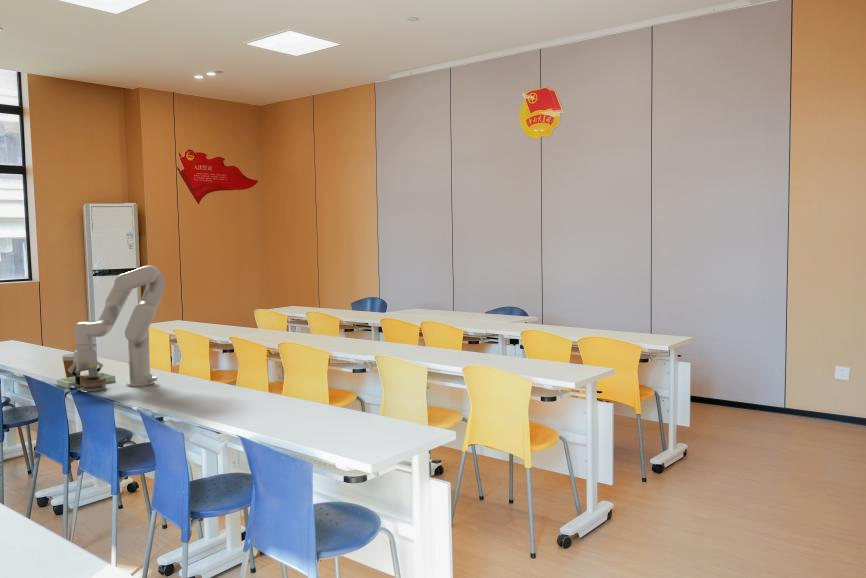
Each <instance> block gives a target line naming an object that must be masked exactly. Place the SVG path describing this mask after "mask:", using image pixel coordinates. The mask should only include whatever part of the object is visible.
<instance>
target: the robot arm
mask: <svg viewBox="0 0 866 578" xmlns="http://www.w3.org/2000/svg"><path fill="white" fill-rule="evenodd" d="M113 281H114V283H113V286H112V288H111V289H110V291H109V293H108V295H107V297H106V300H105V305H104V308H103V310H102V312H101V315H100V317H99V318H98V320H97V321H95V322H90V321H79V322H77V323H75V325H74V332H75V348H76V350H74V352H73V354H74V358H73V365H72V366H71V367H70V368H69V369H68V371H69V372H70V373H71V374H73V375H74V376H75V382H76V384H78V385H80V377H79V374H80V375H81V372H84V371H88V365H93V364H95V365H96V367H97V374H98V373H100V371H101V370H102V368H103V367H104V364H102V363H101V362H99V361H98V357H97V351H96V349H95V347H97V343H94V337H95V338H103V337H105V336H106V335H107V334H109V333H110V332H111V330H112V329H113V328H114V325H115V323H116V322H117V320H118V318H119V316H120V313H122V312H121V311H123V308H124V306H125V304H126V303H127V300H128V298H129V296H130V295H131V293H132V292H133V289H136V288H140V287H142V286H145V285H146V287H145V290H144V292H143V294H142V297H141V298H140V301H139V303H138V304H136V305H135V306H134V309H133V310H132V313H131V315H130V318H129V321H128V322H127V325H126V327H125V329H124V337H125V339H126V340H127V342H128V344H127V347H128V348H127V350H128V351H127V352H128V370H129V381H126V386H127V387H144V386H145V387H146V386H149V385H150V386H151V385H153V384H154V383H155V382H157V381H158V376H153V374H152V373H151V365H150V364H151V363H150V359H151V358H150V330H149V328H150V326H151V323H152V321H153V319H154V317H155V316H156V314H157V310H158V307H159V305H160V303H161V300H162V297H163V294H164V292H165V288H166V280H165V277H164V275H163V272H162V271H161V270H160V269H159V268H158V267H157V266H154V265H151V264H149V265H148V264H147V265H144V266H141V267H139V268H136V269H134V270H131V271H127V272H125V273H120V274H119V275H117V276H116V277H115V279H114V280H113ZM73 369H74V370H76V372H74V371H73Z"/></svg>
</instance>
